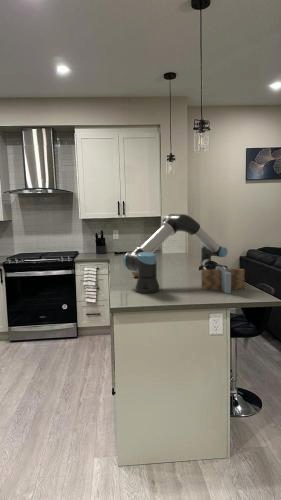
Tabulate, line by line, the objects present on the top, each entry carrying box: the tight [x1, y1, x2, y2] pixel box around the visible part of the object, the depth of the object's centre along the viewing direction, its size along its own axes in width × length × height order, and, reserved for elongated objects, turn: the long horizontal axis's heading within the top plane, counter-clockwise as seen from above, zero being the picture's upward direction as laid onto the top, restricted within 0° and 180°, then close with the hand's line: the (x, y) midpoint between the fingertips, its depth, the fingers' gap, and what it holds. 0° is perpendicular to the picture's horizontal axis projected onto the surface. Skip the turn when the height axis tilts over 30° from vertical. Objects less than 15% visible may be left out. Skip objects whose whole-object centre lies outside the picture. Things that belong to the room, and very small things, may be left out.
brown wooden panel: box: [201, 268, 245, 291], centre depth 194 cm, size 26×3×12 cm, turn 90°
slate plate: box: [216, 266, 232, 294], centre depth 194 cm, size 24×3×12 cm, turn 0°
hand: (215, 270), depth 212 cm, fingers open, 13 cm apart
